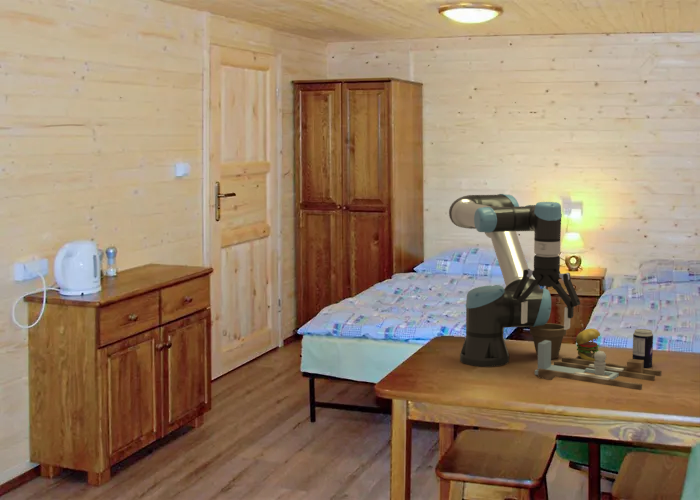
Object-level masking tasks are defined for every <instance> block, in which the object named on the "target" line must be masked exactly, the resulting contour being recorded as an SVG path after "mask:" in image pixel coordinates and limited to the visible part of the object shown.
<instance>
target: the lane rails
mask: <svg viewBox="0 0 700 500" xmlns="http://www.w3.org/2000/svg"><path fill="white" fill-rule="evenodd" d="M553 365H556V366H563V367H570V368H576V369H583V370H585V369H586V368H590V369H595V367H594V361H590V360H583V359H582V358H574V357H568V356H562V357H561V360H560V361H559V360H553ZM605 365H606V367H605V371H610V372H617V373H619V376H618V377H624V378H632V379H639V380H646V381H652V382H654V381H655V379H656V377H661V376H662V370H659V369H652V368H644V370H643V373H636V372H629V371H627V365H624V364H617V363H610V362H606V364H605ZM537 369H538V368H537ZM537 377H538V378H539V379H545V380H550V381H552V380H554V379H555V378H562V379H568V380H569V379H570V380H575V381H576V380H577V381H582V382H588V383H594V384H600V385H608V386H613V387H614V386H615V387H619V388H626V389H633V390H639V391H640V390H643V383H637V382H631V381H625V380H618V379H617V380H616V379H613V380H612V379H610V377H608V376H607V375H605V376H600V375H595V374H594V373H588V372H584V373H580V372H575V373H574V374H573V373H567V372H560V371H554V370H547V369H541V368H540V369H538V375H537Z"/></svg>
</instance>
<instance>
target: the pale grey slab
mask: <svg viewBox="0 0 700 500" xmlns="http://www.w3.org/2000/svg"><path fill="white" fill-rule="evenodd" d="M540 368H541V369H547V370H554V371H560V372H567V373H573V374H574V373H575V372H580V373H587V374H593V375H595V369H590V368H586V369H585V370H583V369H576V368H570V367H563V366H556V365H554V364H552V359H551V341H548V340H544V341H542V342H540V343H538V357H537V369H535V370H534V375H535V376H538V369H540ZM604 375H605V376H607V377H610V379H612V380H616V378H618V377H620V376H619V373H617V372H610V371H605V372H604Z"/></svg>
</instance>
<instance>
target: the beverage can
mask: <svg viewBox="0 0 700 500" xmlns="http://www.w3.org/2000/svg"><path fill="white" fill-rule="evenodd" d="M632 336H633V337H632V358H631V359H637V360H644V368H646V369H652V368H653V352H654V349H653V348H654V347H653V346H654V345H653V344H654V334H653V331H652V330H651V329H646V328H636V329H634V332H633V335H632Z"/></svg>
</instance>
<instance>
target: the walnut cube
mask: <svg viewBox="0 0 700 500" xmlns="http://www.w3.org/2000/svg"><path fill="white" fill-rule="evenodd" d="M626 366H627V371H629V372H636V373H643V370H644V360H637V359H632V358H629V359H628V360H627V361H626Z"/></svg>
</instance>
